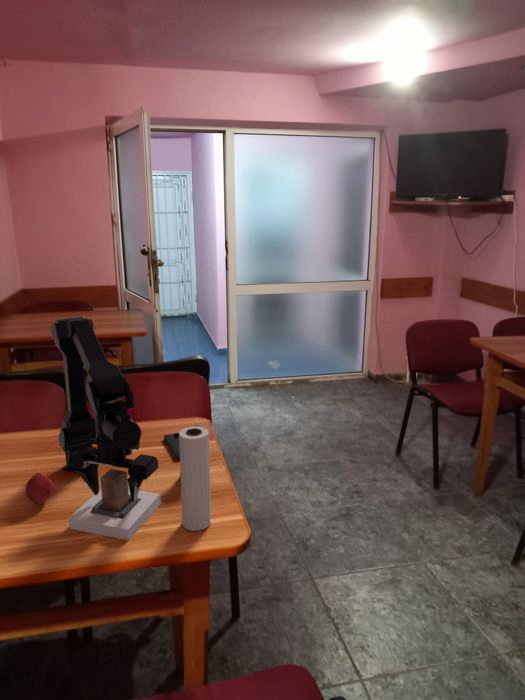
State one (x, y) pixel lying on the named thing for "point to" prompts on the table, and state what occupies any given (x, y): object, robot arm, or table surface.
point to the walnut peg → (114, 490)
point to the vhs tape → (173, 444)
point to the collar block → (114, 516)
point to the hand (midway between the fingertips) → (115, 497)
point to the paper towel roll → (195, 477)
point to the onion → (39, 488)
